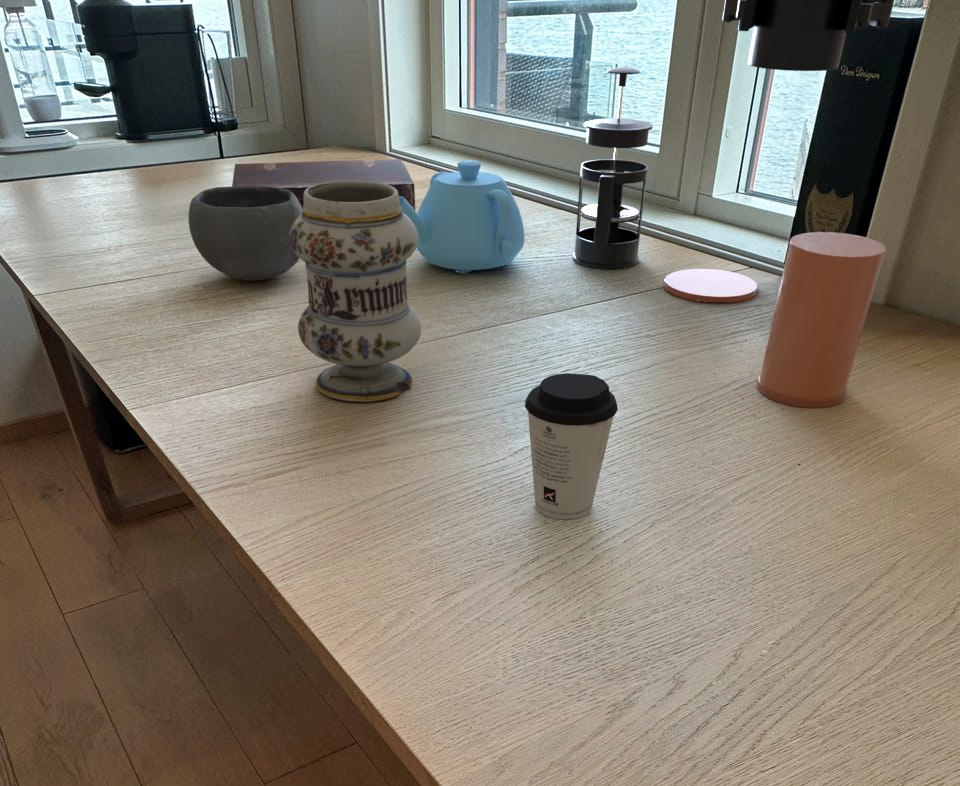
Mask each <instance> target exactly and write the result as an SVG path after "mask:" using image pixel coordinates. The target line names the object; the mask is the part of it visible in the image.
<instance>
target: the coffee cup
mask: <svg viewBox="0 0 960 786" xmlns="http://www.w3.org/2000/svg"><path fill="white" fill-rule="evenodd" d="M524 408H525V409H526V411H527V417H528V429H529V430H528V431H529V442H530V443H529V444H530V452H531V454H530V455H531V468H532V481H533V492H534V493H533V495H534V506H535V508H536V509H537V511H538V512H539V513H541V514H542V515H543V516H546V517H549V518H552V519H555V520H575V519H579V518H583V517H585V516H586V515H588V514H589V513H590V512H591V510H592V508H593V504H594V499H595V496H596V491H597V487H598V483H599V478H600V475H601V472H602V471H601V470H602V466H603V463H604V458H605V454H606V449H607V445H608V442H609V438H610V433H611V429H612V425H613V420H614V416H615V415H616V414H617V413H618V411H619V408H618V403H617V399H616V396H615V395H614V394H613V392H611V390H610V386H609V384H608V383H607V382H606V381H605V380H604V379H602V378H600V377H598V376H597V375H595V374H594V375H593V374H584V373H570V372H565V373H556V374H553V375H549V376H547V377H545V378H543V379H542V381H540V384H539V385H537V386H535V387H534V388H532V389H531V390H530V392H529V393H528V394H527V396H526V398H525V400H524Z"/></svg>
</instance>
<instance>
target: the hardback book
mask: <svg viewBox="0 0 960 786" xmlns="http://www.w3.org/2000/svg"><path fill="white" fill-rule="evenodd" d="M340 180H354V181H369V182H377V183H383V184H387V185H390V186H392V187H394V188H395V189H396V190H397V191H398V195H399V196H403V197H404V198H405V199H406V201H407V202H408V203H409V204H410V205H411V206H412V208H413V209H414V210H415V211H416V193H415V183H414V181H413V179H412V177H411V175H410V172H409V171H408V169H407V168H406V165H405V163H404V162H403V160H402V158H396V159H393V158H391V159H360V160H358V159H357V160H324V161H289V162H287V161H285V162H252V163H234V169H233V176H232V184H231V186H270V187H278V188H282V189H287V190H290V191H291V192H292V193H293V194H294V195H295V196H296V198H297V200H298V201H299V203H300V205H301V207H302V210H303V206H304V191H305V190H306V189H307V188H308V187H311V186H313V185H316V184H320V183H325V182H331V181H340Z"/></svg>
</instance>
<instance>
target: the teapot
mask: <svg viewBox="0 0 960 786" xmlns="http://www.w3.org/2000/svg"><path fill="white" fill-rule="evenodd" d="M456 164H457V169H458V171H453V172H446V171H438V172H435V173H434V174H433V175H432V176H431V178H430V183H429V188H428V189H427V192H426V193H425V196H424V198H423V199H422V201H421V203H420V206H419V209H418V211H416V209H415V210H414V209H413V208H412V206H411V205H410V204H409V203H408V202H407V201H406V199H405V198H404V197H403V196H399V202H400V203H399V204H400V206H401V211H402V212H403V213H404V214H405V215H407V216H408V217H409V218H410V219H411V221H412V222H413V224H414V225H415V227H416V230H417V233H418V244H417V247H416V249H417V251H418V252H419V254H420V255H421V256H422V258H424V259H425V260H426V262H428V263H430V264H431V265H433V266H436V267H440V268H445V269H451V270H454V272H455V271H457V272H459V273H458V274H467V273H466V272H470V273H472V272H473V271H479V270H488V269H496V268H500V266H501V267H504V266H503V265H505V266H507V265H508V264H510V263H511V262H512V261H514V259H516V257H517V255H518V254H519V253H520V252H521V251H522V249H523V247H524V245H525V228H524V222H523V217H522V214H521V212H520V211H521V210H520V208H519V206H518V204H517V202H516V200H515V197H514V195H513V194H512V192H511V190H510V188H509V186H508V184H507V182H506V181H505V180H504V179H503V178H502V176H500V175H498V174H495V173H491V172H485V171H480V169H481V165H482V163H481V162H479V161H477V160H460V161H459V162H457V163H456ZM471 271H472V272H471ZM457 272H456V273H457Z"/></svg>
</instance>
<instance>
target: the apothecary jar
mask: <svg viewBox="0 0 960 786" xmlns="http://www.w3.org/2000/svg"><path fill="white" fill-rule="evenodd" d="M399 203H400V202H399V195H398V191H397V190H396V189H395V188H394V187H392V186H390V185H387V184H383V183H377V182H369V181H354V180H340V181H331V182H325V183H320V184H316V185H313V186H311V187H308V188H307V189H306V190H305V191H304V206H303V210H302V214H301V215H300V216H299V217H298V218H297V219H296V220H295V222H294V223H293V225H292V227H291V229H290V233H289V241H290V245H291V248H292V250H293V251H294V253H295V254H296V255H297V256H298V257H299V258H300V259H299V260H301V261H303V262H304V263H305V271H306V279H307V280H306V281H307V291H308V294H307V295H308V305H307V306H306V307H305V309H304V310H303V312H302V313H301V315H300V317H299V320H298V325H297V330H298V335H299V339H300V340H301V343H302V344H303V346H304V347H305V348H306V349H307V350H308V351H309V352H311V353H312V354H313V355H314V356H316V357H317V358H319V359H321V360H323V361H326V362H328V363H332V364H334V365H331V366H329V367H327V368H325V369H324V370H323V371H321V372H320V373H319V375H318V376H317V377H316V380H315V387H316V389H317V391H318V392H319V393H321V394H322V395H324V396H326V397H328V398H330V399H334V400H337V401H342V402H350V403H375V402H381V401H386V400H391V399H393V398H396V397H398V396H400V395H401V393H402V392H403V390H407V389H410V388H411V387H412V385H413V377H412V375H411V373H409V372H408V370H406V369H405V368H403V367H402V366H399V365H397V364H394V363H392V362H393V361H396V360H398V359H400V358H403V356H405V355H407V354H408V353H409V352H410V351H411V350H413V349H414V347H415V346H416V345H417V343H418V342H419V340H420V338H421V334H422V323H421V319H420V316H419V315H418V314H417V312H416V310H415V309H414V307H412V306H411V305H410V304H409V300H408V283H407V282H408V280H407V278H408V277H407V260H408V259H409V258H410V257H411V256H413V254H414V253H415V251H416V249H417V248H416V247H417V244H418V233H417V230H416V227H415V225H414V224H413V222H412V221H411V219H410V218H409V217H408V216H407V215H405V214H404V213H403V212H402V211H401V206H400V204H399Z"/></svg>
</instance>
